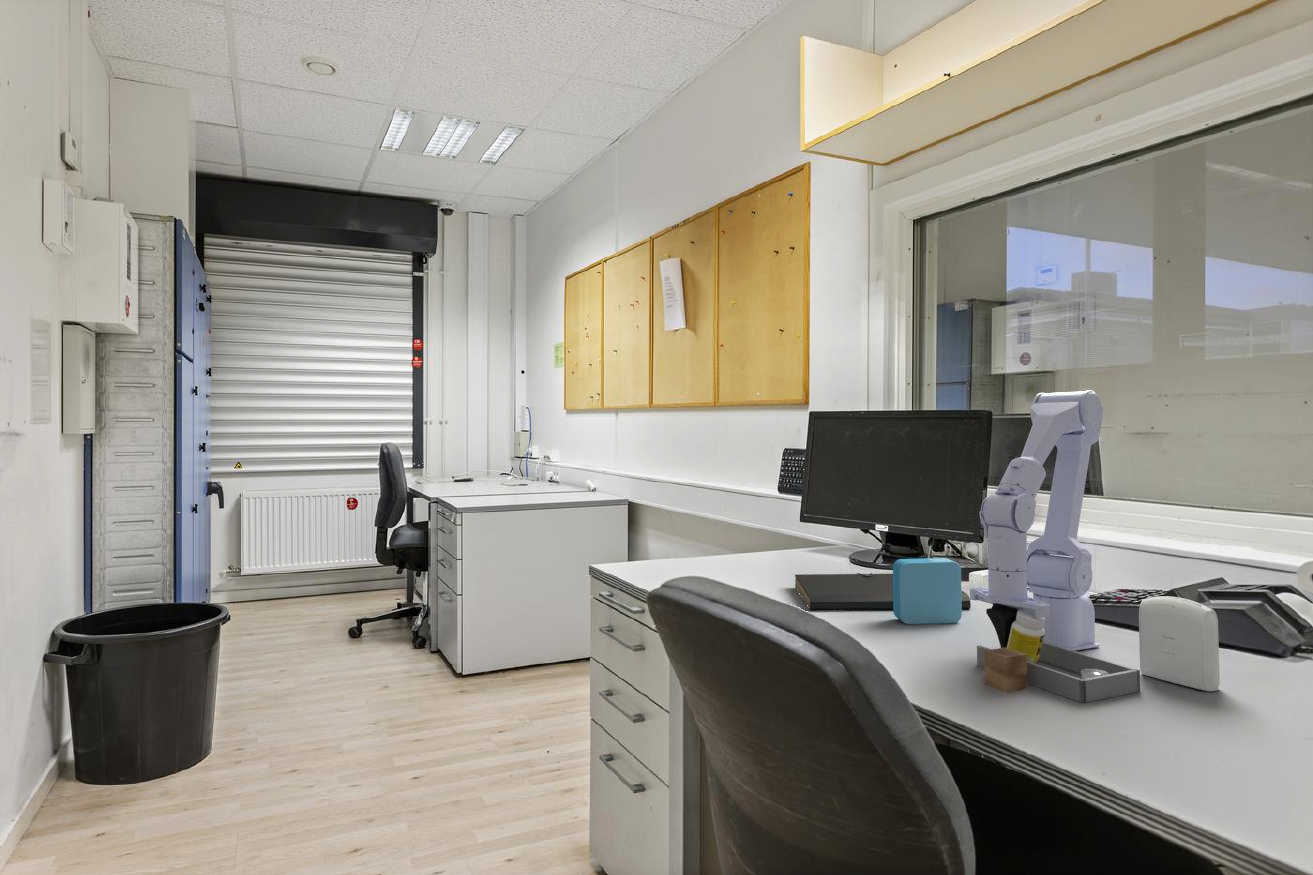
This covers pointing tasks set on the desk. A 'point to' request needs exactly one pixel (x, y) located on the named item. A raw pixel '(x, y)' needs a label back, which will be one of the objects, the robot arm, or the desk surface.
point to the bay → (1074, 688)
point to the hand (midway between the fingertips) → (1008, 652)
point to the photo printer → (1179, 642)
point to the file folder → (851, 591)
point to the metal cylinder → (1092, 673)
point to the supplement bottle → (1027, 635)
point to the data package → (927, 591)
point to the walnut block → (1006, 669)
